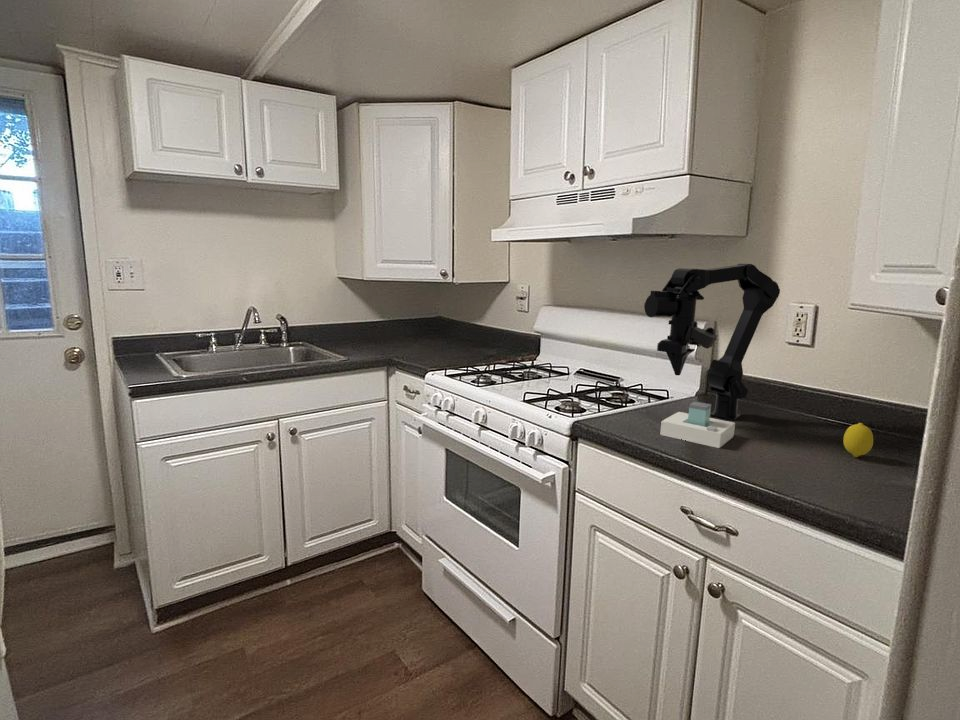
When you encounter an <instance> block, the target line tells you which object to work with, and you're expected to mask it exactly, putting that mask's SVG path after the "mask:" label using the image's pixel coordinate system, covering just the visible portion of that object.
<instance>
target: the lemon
mask: <svg viewBox="0 0 960 720" xmlns="http://www.w3.org/2000/svg"><path fill="white" fill-rule="evenodd" d="M873 445H874V435H873V432H872V430H871V429H870V428H869V426H866V425H864V423H862V422H858V423H856V424H852V425H850V426H849V427H847V428H846V430H845V432H844V435H843V446H844V448H845V450H846V451H847V452H849V454H852V456H853V457H854V458H858V457H860V456H864V455H866V454H868V453H869V452H870V451H871V450H872V448H873Z"/></svg>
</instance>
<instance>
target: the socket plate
mask: <svg viewBox="0 0 960 720" xmlns="http://www.w3.org/2000/svg"><path fill="white" fill-rule="evenodd" d="M688 414H689V412H688V413H687V412H683V411H677V412H675V413H674V414H672V415H670V416H668V417H666V418H665V419H663V420H662V421H661V422H660V433H659V434H660V436H664V437H669V438H672V439H678V440H681V439H682V441H685V440H686V441H687V442H690V443H694V444H698V445H699V444H700V445H704V446H708V447H712V448H717V449H720V448H722V447H723V446H725V444H726V443H728V442H729V441H730V440H731V439H733V437H734V436H735V427H736V422H734V421H727V420H722V419H717V418H713V417H710V421H709V426H708V427H704V426H699V425H694V424H689V423H688Z"/></svg>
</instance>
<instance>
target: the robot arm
mask: <svg viewBox="0 0 960 720" xmlns="http://www.w3.org/2000/svg"><path fill="white" fill-rule="evenodd" d="M733 281H737V283H738V286H739V287H740V289H741V290H742V291H743V294H742V305H743V310H742V312H741V313H740V314H741V315H740V317H739V318H738V321H737V323H736V326H735V328H734V330H733V333H732V336H731V338H730V340H729V342H728V345H727V347H726V349H725V351H724V354H723V355H722V357H720V358H719V359H712V361H711V363H710V365H709V369H708V370H707V371H706V373H707V375H706V380H707V383H708V386H709V390H710V392H713V393H716V395H715V406H714V410H713V412H710V417H715V418H721V419H727V420H732V421H735V420H737V419H738V418H740V416H741V414H740V413H738V405H739V400H741V399H745V398H746V397H747V394H748V392H749V390H748V389H747V388H746V386H745V384H744V383H743V382H742V378H743V376H744V370H743V363H742V362H743V361H744V358H745V356H746V354H747V351H748V349H749V346H750V344H751V342H752V339H753V337H754V335H755V333H756V331H757V328H758V325H760V321H761V319H762V318H763V317H762V316H763V315H764V314H765V313H766V312H768V311H769V310H770V309H771V308H772V307H774V305H775V303H776V301H777V300H778V298H779V296H780V293H781V289H780V286H779V284H778V283H777V282H776V281H774V280H773V279H772V277H770V276H769V275H767V274H765V273H764V272H763V271H761V270H759V268H757V267H756V265H754V264H752V263H738V264H734V265H727V266H721V267H720V266H719V267H712V268H704V269H703V268H702V269H701V268H683V267H679V268H676V269H675V270H673V272H672V275H671V277H670V279H669V280H668V282H667V283H666V284H665V286H664V287H663V288H662V290H661V291H660V290H650V294H649V295H648V297H647V298H646V300H645V302H644V305H643V306H644V307H643V308H644V309H643V310H644V312H645V314H646V316H647V317H648V318H671V319H670V320H668V325H670V332H669V335H667V338H665V339H662V340H660V341H659V342H658V343H657V346H656V347H657V348H656V351H658V352H663V353H666V355H667V357H668V359H669V362H670V364H671V367H672V370H673V372H674V375H675V376H677V377H678V376H681V373H682V371H683V369H684V365H685V364H686V361H687V358H688V356H689V355H690V354H691V353H693V352H695V351H696V349H695V348H691V346H696V347H698V348H700V347H702V348H704V349H710V348H712V347H713V346H714V343H715V341H717V340H718V339H717V338H718V335H717V334H716V329H715V328H712V327H710V326H709V327H708V328H706V329H704V328H700V327H699V326H698V324H699V323H698V321H697V320H696V310H697V309H696V306H697V301H704V300H705V297H704V296H703V295H702V294H701V293H700V290H702V289H706V288H707V287H708V286H710V285H713V284H718V283H720V284H721V283H725V282H733ZM690 345H691V346H690Z"/></svg>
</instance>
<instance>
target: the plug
mask: <svg viewBox="0 0 960 720" xmlns="http://www.w3.org/2000/svg"><path fill="white" fill-rule="evenodd" d="M711 410H712V403H706V402H701V401H693V402H691V403H689V405H688V423H689V424H694V425H699V426H704V427H708V426H709V421H710V418H711V415H710V414H711V413H712V412H711Z"/></svg>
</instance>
